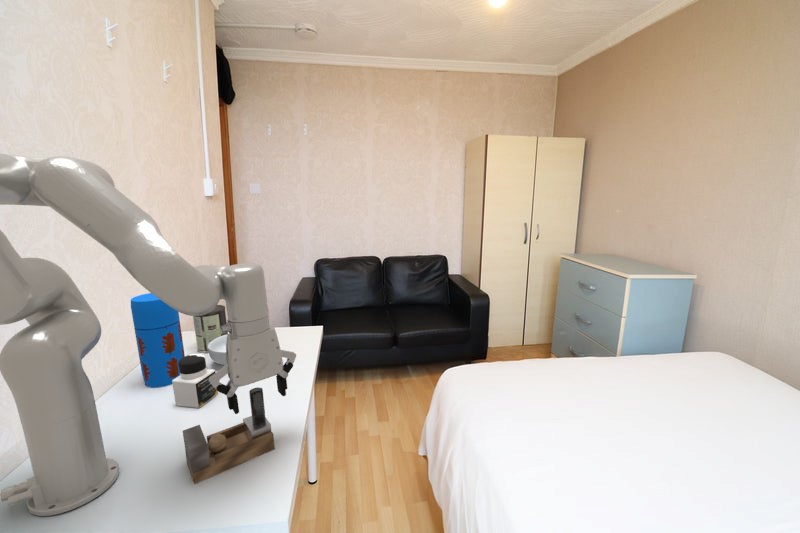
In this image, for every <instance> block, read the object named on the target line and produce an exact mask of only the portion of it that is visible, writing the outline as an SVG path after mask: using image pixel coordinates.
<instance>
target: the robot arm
mask: <svg viewBox="0 0 800 533" xmlns="http://www.w3.org/2000/svg"><path fill="white" fill-rule="evenodd" d="M1 205H2V206H3V205H5V206H6V205H8V206H9V205H10V206H12V205H14V206H18V205H19V206H35V207H49V208H51V209H52V210H53V211H55V212H56V213H58V214H59V215H60V216H61V217H63V218H65V219H66V220H67V221H68V222H70V223H71V224H73V225H74V226H75V227H76V228H78V229H79V230H81V231H82V232H84V233H85V234H87V235H88V236H89V237H91V238H92V239H93V240H95V241H96V242H97V243H99V245H102V246H103V247H104V248H105V249H107V250H108V251H110V253H111V254H113V255H114V257H115V258H116V260H117V261H118V263H119V264H121V265H122V267H123V268H125V270H126V271H127V272H128V273H129V274H130V276H132V277H133V279H134V280H136V282H137V283H138V284H140V286H142V287H143V288H144V289H145V290H147V291H148V292H149V293H152V294H153V295H155V296H156V297H157V298H159V299H160V300H162V301H163V302H164V303H166V304H167V305H169V306H170V307H172V308H173V309H175V310H176V311H178V312H179V314H180V313H181V314H182V315H186V316H191V317H193V316H201V315H205V314H207V313H209V312H211V311H212V310H213V309H214V308H215V307H216V306H217V305H219V302H220V301H221V300H224V301H225V308H226V312H227V319H226V322H227V324H225V325H223V326H221V330H222V333H223V332H228V335H227V341H226V362H227V364H226V365H222V367H221V368H220V369H218V370H217V371H215V374H213V375H212V376H211V377H210V378H209V379H208V380H209V382H210V384H211V385H212V386H213V387H214V388H215V389H216V390H217V391H218V393H221V394H223V395H225V396H226V399H227V406H228V409H229V410H230V411H231V410H232V411H233V412H234V414H235V415H238V414H239V413H240V407H239V400H238V394H236V392H237V390H238V389H239V387H240V388H241V387H244V386H248V385H251V384H254V383H257V382H260V381H263V380H266V379H269V378H271V377H276V388H277V392H278V393H279V394H280V395H281V396H282V397H285V396H287V390H288V381H287V378H288V377H289V373H290V371H291V370H292V369H293V367H294V363H295V360H296V359H297V353H295V352H294V351H290V350H286V349H285V350H284V349H281V347H280V341H279V338H278V335H277V332H276V328H275V327H274V326H273V325H271V322H270V314H269V307H268V299H267V298H268V297H267V290H266V282H265V281H266V280H265V279H266V278H265V273H264V272H265V271H264V269H263V267H262V266H261V265H260V264H259V263H254V262H246V263H245V262H244V263H236V264H231V265H198V266H193V265H192V264H191V263H190V262H188V261H187V260H186V259H185V258H184V257H182V256H181V255H180V254H179V253H177V252H176V250H174V249H173V247H172V246H171V245H170V244H169V243H168V242H167V240H166V239H165V238H164V236H163V234H162V232H161V230H160V228H159V226H158V223H157V222H156V221H155V219H154V218H153V217H152V216H151V215H150V214H148V212H146V211H144V210H143V209H142V208H141V207H139V206H138V205H137V204H136V203H135V202H133V200H131V199H129V198H128V197H127V196H126V195H125V194H124V193H122V192H121V191H120V190H119V189H117V188H116V186H115V183H114V180H113V178H112V176H111V174H109V173H108V171H106V169H105V168H103V167H102V166H100V165H98V164H96V163H94V162H92V161H88V160H84V159H79V158H76V157H70V156H65V155H64V156H62V155H61V156H60V155H57V156H52V157H47V158H41V157H32V156H25V155H24V156H23V155H22V156H21V155H15V154H14V155H13V154H6V153H5V154H4V153H0V206H1ZM23 320H25V321H26V322H27V324H28V326H27V327H24V328H23V329H21V330H20V331H18V332H17V333H15V334H13V336H12V337H11V338H9V339H8V340H7V342H5V344H4V345H3V347H2V349H1V350H0V373H1V376H2V377H3V380H4V382H5V384H7V387H8V388H9V390H10V392H11V395H12V397H13V399H14V402H15V403H14V404H15V405H16V409H17V412H18V417H19V420H20V425H21V428H22V432H23V436H24V440H25V443H26V448H27V453H28V456H29V461H30V464H31V468H32V473H33V476H32V477H29V478H26V481H24V482H21V483H18V484H14V485H12V486H8V487H6V488H5V487H4V488H2V489H1V490H0V501H1V502H5V501H7V505H8V506H13V505H15V504H17V503H20V502H22V501H25V500H27V501H26V505H27V508H28V511H29V513H31V514H32V515H35V516H42V517H46V516H54V515H59V514H64V513H65V512H69V511H72V510H74V509H77V508H80V507H81V506H84V505H86V504H87V503H89V502H91V501H92V500H94V499H96V498H97V497H99V496H100V495H102V494H103V493H104V492H105V491H107V490H108V489H109V488H110V487H111V486H112V485H113V484H114V483H115V481H116V480H117V478H118V477H119V474H120V467H119V466H120V465H119V463H118V461H116V459H115V460H114V459H113V458H107V455H106V451H105V446H104V440H103V434H102V430H101V425H100V421H99V415H98V410H97V409H98V408H97V405H96V400H95V396H94V391H93V386H92V384H91V381H90V379H89V377H88V376H87V373H86V372H85V369H84V368H83V364H82V361H83V359H84V358H85V357H86V355H88V354H89V353H90V352H91V351H92V350H93V349H94V348H95V347H96V345H97V344H98V343H99V341H100V339H101V337H102V326H101V322H100V320H99V318H98V316H97V315H96V313H95V312H94V310H93V308H92V307H91V305H90V304H89V302H88V301H87V300H86V298H85V297H84V295H83V293H82V292H81V291H80V289H79V288H78V286H77V285H76V283H75V282H74V281H73V279H72V278H71V276H70V275H69V274H68V273H67V272H66V271H65V270H64V269H63V268H62V267H61V266H59V265H58V264H57V263H55V262H52V261H50V260H48V259H44V258H40V257H24V258H23V257H21V255H20V254H19V253H18V252H17V250H16V249H15V247H14V246H13V245H12V243H11V242H10V240H9V238H8V237H7V235H6V234H5V233H4V232H3V231H2V230H1V229H0V326H1V325H3V326H4V325H10V324H14V323H17V322H20V321H23ZM283 358H285V359H286V361H285V362H283V360H284V359H283ZM226 375H227V376H228V378H229V380H228V381H227V382H226V384H224V383H222V382H220V380H222V379H223V378H224V377H226Z"/></svg>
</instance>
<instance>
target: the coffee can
mask: <svg viewBox="0 0 800 533" xmlns="http://www.w3.org/2000/svg"><path fill="white" fill-rule="evenodd" d="M192 319H193V326H194V332H195V339H196V340H195V341H196V346H197V352H198V353H200V354H201V353H202V354H209V352H208V344H209V343H210V342H211V341H213V340H214V339H216V338H218V337H221V336H223V335H227V334H229V332H223V333H222V330H221V326H223V325H225V324H227V322H228V321H227V316H226V305H222V304H217V306H216V307H215V308H214V309H213V310H212V311H211V312H209V313H207V314H205V315H201V316H192Z"/></svg>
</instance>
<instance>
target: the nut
mask: <svg viewBox="0 0 800 533" xmlns="http://www.w3.org/2000/svg"><path fill="white" fill-rule="evenodd" d="M226 444H227V439H226V437H225V436H224V435H222V434H216V435H214V436H212V437H211V438H210V440H209V442H208V449H209V450H210V451H211V452H213V453H218V452H221V451H222V450H223V449H224V448H225V447H226Z"/></svg>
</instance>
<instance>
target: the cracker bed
mask: <svg viewBox="0 0 800 533" xmlns="http://www.w3.org/2000/svg"><path fill="white" fill-rule="evenodd" d="M216 434H222V435H224V436H225V437H226V439H227V444H226V447H225V448H224V449H223V450H222V451H221V452H218V453H213V452H211V451H210V450H209V449H208V442H209V440H210V438H211V437H212V436H214V435H216ZM182 435H183V436H182V437H183V441H184V442H183V443H184V450H185V457H186V462H187V466H188V469H189V472H190V475H191V476H190V477H191V478H192V483H193V485H195V484H198V483H200V482H203V481H205V480H208V479H210V478H212V477H215V476H216V475H219V474H221V473H224V472H225V471H227V470H230V469H232V468H235V467H237V466H239V465H241V464H244V463H246V462H249V461H250V460H253V459H255V458H258V457H259V456H263V455H264V454H267V453H268V452H271V451H273V450H275V449H276V448H275V447H276V446H275V437H274V432H273V431H272V432H270V433H267V434H265V435H263V436H260V437H258V438H255V439H253V440H249V438H248V436H247V435H246V433H245V431H244V424H243V422H240V423H239V424H236V425H233V426H230V427H228V428H224V429H222V430H220V431H216V432H215V433H212V434H210V435H209V434H208V435H206V437H205V434H204V432H203V430H202V427H201V425H200V424H197V425H195V426H192V427H189V428H185V429H183V430H182Z"/></svg>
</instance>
